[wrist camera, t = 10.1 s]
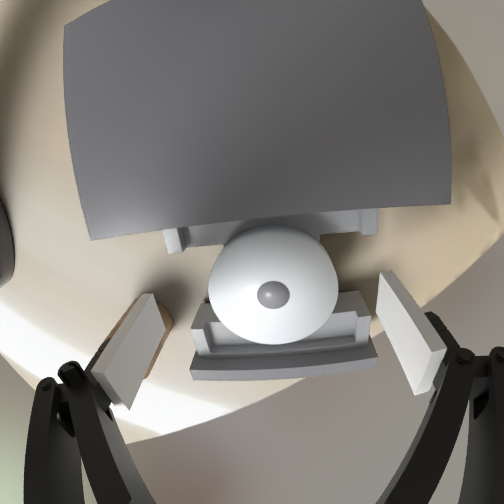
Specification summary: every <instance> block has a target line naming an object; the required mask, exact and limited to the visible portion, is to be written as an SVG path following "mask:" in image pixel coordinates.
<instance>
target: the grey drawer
mask: <svg viewBox="0 0 504 504" xmlns="http://www.w3.org/2000/svg"><path fill="white" fill-rule="evenodd" d="M265 224H283V225H288V226H292V227H295V228H298V229H301V230H303V231H305V232H306V233H308V234H310V235H311V236H313V237H314V238H315V239H316V240H317V241H318V242H319V243H320V235H321V234H332V233H343V232H355V231H359V232H360V234H361V235H373V234H377V208H372V209H358V210H345V211H332V212H320V213H309V214H298V215H287V216H277V217H267V218H258V219H248V220H239V221H231V222H222V223H213V224H205V225H197V226H189V227H182V228H174V229H166V230H162V231H163V236H164V240H165V244H166V248H167V252H168V254H174V253H183V251H184V250H185V249H186V248H189V247H199V246H208V245H218V244H223V245H224V246H225V245H226V244H227V243H228V242H229V241H230V240H231V239H232V238H233V237H235V236H236V235H238V234H239V233H241V232H242V231H245V230H247V229H249V228H252V227H255V226H259V225H265ZM370 324H371V313H370V311H369V309H368V307H367V305H366V303H365V301H364V298H363V296H362V294H361V292H360V290H358V291H350V292H341V293H338V298H337V302H336V305H335V307H334V310H333V312H332V313H331V315H330V317H329V318H328V319H327V321H326V322H325V323H324V324H323V325H322V326H321V327H320V328H319V329H318V330H316V331H315V332H314V333H312V334H310V335H309V336H307V337H305V338H303V339H300V340H297V341H294V342H290V343H285V344H262V343H257V342H253V341H250V340H247V339H245V338H242V337H240V336H238V335H237V334H235V333H234V332H232V331H231V330H229V329H228V328H227V327H226V326H225V325H224V324H223V323H222V322H221V321H220V320H219V318H218V317H217V315H216V314H215V312H214V310H213V308H212V306H211V303H203V304H201V305H200V307H199V309H198V312H197V314H196V316H195V319H194V321H193V323H192V326H191V328H190V331H191V334H192V337H193V340H194V343H195V346H196V352H195V355H194V358H193V361H192V363H191V366H190V369H189V370H190V373H191V375H192V378H193V380H207V381H252V380H277V379H292V378H304V377H314V376H324V375H333V374H340V373H347V372H354V371H361V370H367V369H373V368H376V364H377V360H378V355H377V353H376V350H375V348H374V345H373V342H372V340H371V337H370V335H369V331H370Z"/></svg>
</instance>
